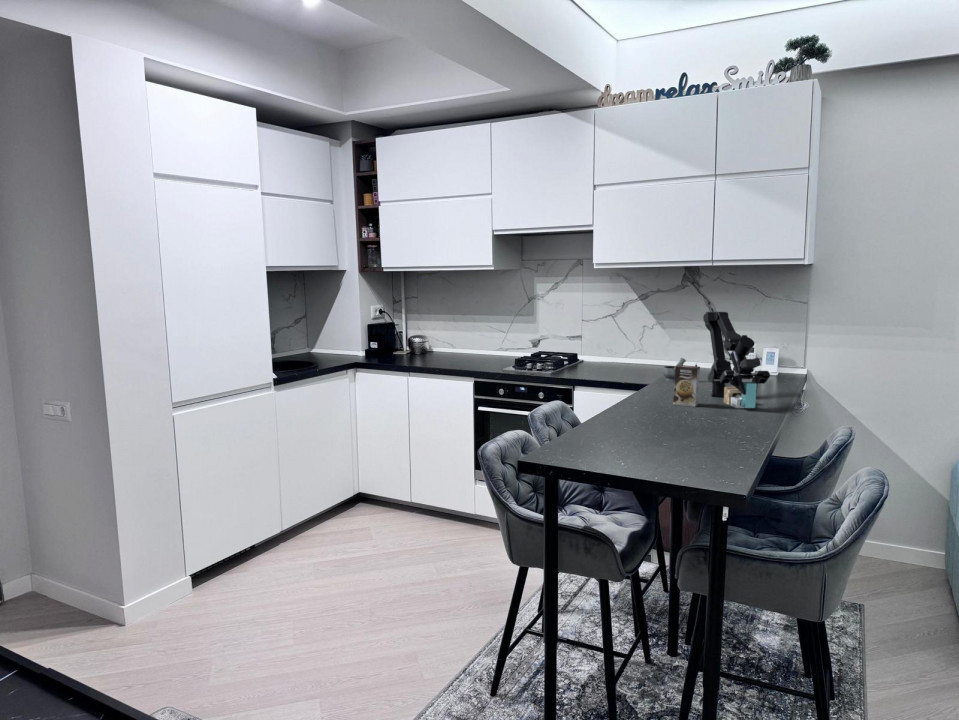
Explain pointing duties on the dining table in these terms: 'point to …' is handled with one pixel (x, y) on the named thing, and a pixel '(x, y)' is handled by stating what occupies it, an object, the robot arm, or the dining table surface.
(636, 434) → the dining table surface
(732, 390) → the socket
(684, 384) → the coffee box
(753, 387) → the teal and silver mallet
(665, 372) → the mortar and pestle
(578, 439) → the dining table surface
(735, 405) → the white notched block
